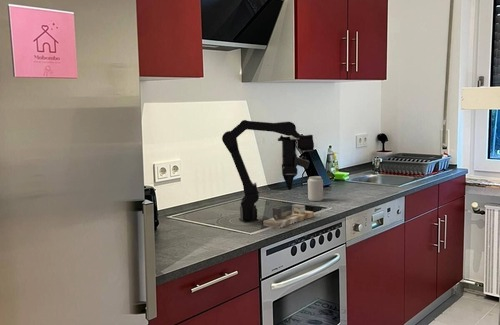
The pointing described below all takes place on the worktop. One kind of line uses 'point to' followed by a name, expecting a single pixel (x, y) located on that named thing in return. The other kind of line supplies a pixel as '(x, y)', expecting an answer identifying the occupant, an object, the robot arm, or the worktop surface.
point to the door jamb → (288, 219)
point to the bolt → (278, 214)
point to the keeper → (301, 208)
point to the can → (315, 188)
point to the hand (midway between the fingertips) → (289, 187)
